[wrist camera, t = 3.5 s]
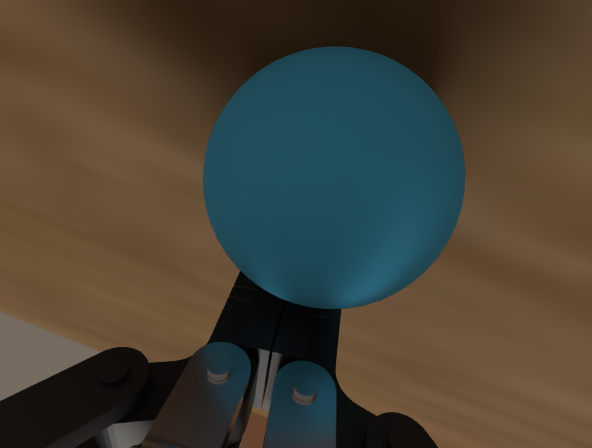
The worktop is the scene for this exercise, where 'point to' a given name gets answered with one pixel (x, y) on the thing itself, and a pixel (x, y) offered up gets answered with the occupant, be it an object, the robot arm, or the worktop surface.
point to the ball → (334, 177)
